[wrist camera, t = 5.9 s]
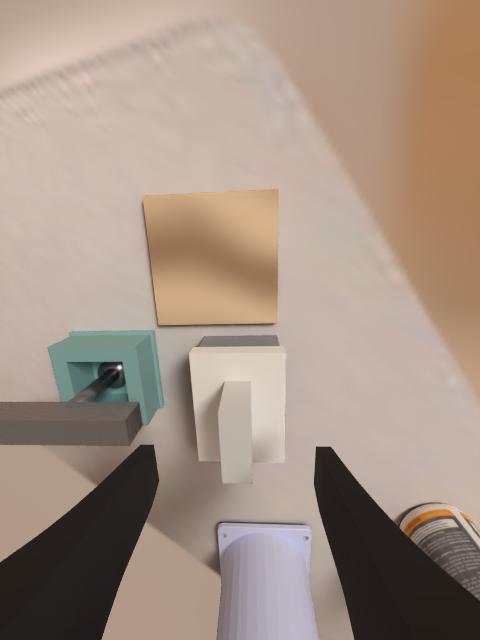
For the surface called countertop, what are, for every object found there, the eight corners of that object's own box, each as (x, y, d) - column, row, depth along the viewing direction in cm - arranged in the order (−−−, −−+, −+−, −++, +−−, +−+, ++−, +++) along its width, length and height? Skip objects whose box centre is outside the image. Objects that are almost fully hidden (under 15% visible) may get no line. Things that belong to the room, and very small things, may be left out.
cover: (282, 450, 16) (291, 510, 13) (201, 449, 17) (186, 508, 13) (283, 345, 14) (295, 379, 11) (192, 347, 15) (171, 380, 11)
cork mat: (276, 321, 17) (277, 323, 16) (160, 323, 17) (158, 325, 17) (277, 190, 15) (278, 189, 14) (145, 197, 15) (142, 195, 15)
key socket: (164, 405, 19) (151, 427, 17) (88, 405, 19) (64, 426, 17) (154, 330, 17) (138, 343, 15) (72, 331, 18) (43, 344, 15)
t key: (168, 356, 17) (123, 413, 11) (171, 384, 18) (130, 452, 12) (60, 358, 18) (-40, 412, 12) (66, 385, 19) (-25, 450, 12)
